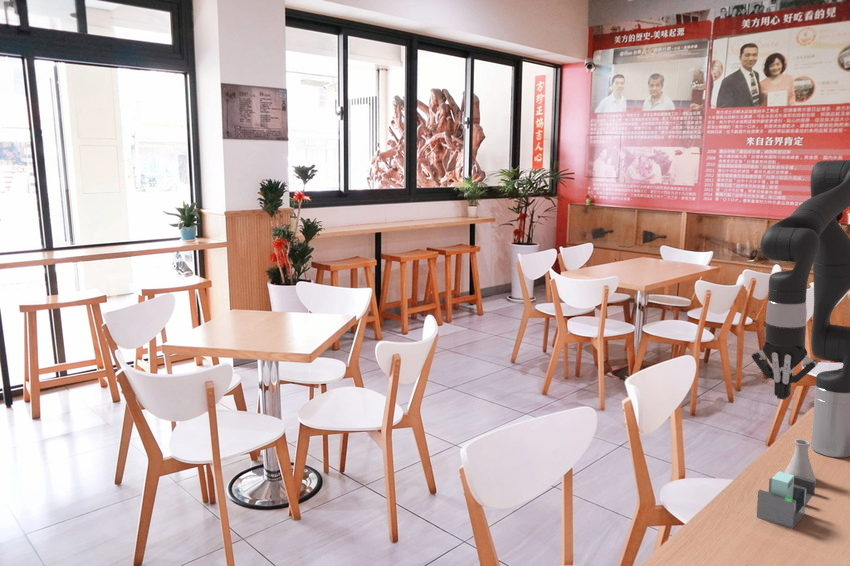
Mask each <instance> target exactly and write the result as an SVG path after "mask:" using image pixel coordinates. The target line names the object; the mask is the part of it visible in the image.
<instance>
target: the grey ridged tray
mask: <svg viewBox="0 0 850 566" xmlns="http://www.w3.org/2000/svg"><path fill="white" fill-rule="evenodd" d="M791 475H792V474H791ZM794 485H798V486H801V487H805V488H806V502H805V506H806V505H807V504H808V502H809V501H810V500H811V499H812V497H813V496H814V494H815V490H816V487H815V486H816V485H815V481H814V480H810V479H807V478H803V477H800V476H796V475H794Z"/></svg>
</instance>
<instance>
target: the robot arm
mask: <svg viewBox="0 0 850 566" xmlns="http://www.w3.org/2000/svg"><path fill="white" fill-rule="evenodd" d="M809 184H810V198H808V199H806V200H805V201H803V202H802V203H800V205H798V206H797V207H796V208H795V210H794V211H793V212H792V214H790V216H788V217H785V218H783V219H781V220H779V221H777V222H776V223H774V224H773V225H771V226H770V227H768V228H767V229H766V230H765V231H764V233H763V235H762V237H761V239H760V244H759V245H760V251H761V254H762V255H763V256H764V257H765V258H766V259H768V260H771V261H778V262H780V261H781V262H789V263H790V262H792V263H793V262H794V266H793V268H792V269H791V270H783V271H776V272H774V273H773V272H772V273H771V274H770V276H769V280H768V295H767V297H768V298H767V299H768V300H767V305H766V309H765V310H766V311H765V312H766V313H765V333H764V334H765V336H764V343H763V345H762V349H761V350H757V351H754V353H753V354H751V358H752V360H753V361H754V363H755V365H757V367H758V368H759V369H760V371H761V372H762V374H763V375H764V376H765V378H766V379H771V380H772V381H773V382H774V391H773V392H774V396H776V397H777V399H779V400H783V401H784V400H785V401H786V400H787V399H788V398H789V397H790V396H791V391H792V384H797V383H798V382H799V381H801V379H803V378H804V377H805V376H807V375H808V374H809V373H810V372H812V370H813V369H815V368H816V367H817V365H818V363H819V362H818V360H816V359H812V358H811V357H810V356H809V355H808V351H807V349H806V335H807V334H806V333H807V318H808V317H807V316H808V315H807V314H808V312H807V309H808V308H807V287H808V281H809V278H810V277H809V276H810V273H811V270H812V273H813V275H812V276H813V311H812V312H813V314H812V326H811V327H812V328H811V340H810V341H811V342H810V346H811V347H810V348H811V352H812V355H813V356H814V357H815V358H817V359H820V360H825V361H830V362H836V363H840V364H842V367H841V368H838V369H834V370H833V369H832V370H831V369H830V370H826V371H821V372H819V373H818V374H816V376H815V387H814V402H813V415H812V427H811V443H810V448H811V449H812V450H813V451H814V452H816V453H817V454H821V455H824V456H827V457H832V458H847V457H848V458H850V326H846V325H840V324H839V325H837V324H832V323H831V320H830V319H831V315H832V312H833V311H834V309H835V307H836V306H837V305H838V303H839V302H840V301H841V300H842V298H844V297H845V295H846V294H847V293H848V292H849V291H850V237H849V235H848V233H846V231H845V230H844V229H843V227H842V226H841V225H840V223H839V221H838V219H837V218H836V217H837V216H838V215H840V214H841V213H843V212H844V211H845V210H847V209H848V208H849V207H850V159H839V160H837V159H836V160H835V159H834V160H831V159H830V160H820V161H819V160H818V161H817V162H816V163H815V164H814V166H813V167H812V170H811V173H810V183H809ZM767 359H768V361H769V362H768V361H767ZM802 361H803V362H802ZM801 362H802V367H803V368H802V369H800V370H799V371H798V372H797V373H796V374H794V371H795V368H796V367H797V366H798V365H799V364H800V363H801ZM769 363H770V364H771V365H772V366H771V365H770V364H769Z"/></svg>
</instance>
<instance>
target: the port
mask: <svg viewBox="0 0 850 566" xmlns="http://www.w3.org/2000/svg"><path fill="white" fill-rule="evenodd" d="M772 478H773V477H770V479H769V482H768V491H767V490H763V489H759V490H758V491H757V500H756V501H757V503H756V504H757V505H756V518H757V519H760V520H763V521H767V522H770V523H773V524H776V525H779V526H782V527H784V528H788V529H791V530H793V529H794V528H795V527H796V526H797V524H798V523H799V522H800V520H801V519H802V518H803V517H804V515H805V514H806V505H805V502H806V488H805V487H801V486H798V485H794V486H793V499H792V498H789V497H783V496H780V495H776V494H773V493H771V484H772Z"/></svg>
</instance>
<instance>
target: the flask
mask: <svg viewBox="0 0 850 566" xmlns="http://www.w3.org/2000/svg"><path fill="white" fill-rule="evenodd" d="M794 445H795V449H794V451H793V452H794V453H793V455H792V457H791V459H790V462H789V463H788V465H787V467H786V468H785V470H784V473H788V474H792V475H796V476H800V477H803V478H807V479H810V480H814V481H815V486H816V485H817V478H816V476H815V475H816V474H815V473H814V471H813V467H812V463H811V461H810V457H809V456H810V455H809V448H810V447H811V443H810V441H808V440H806V439H803V438H802V439H801V438H799V439H798V438H797V439H794Z"/></svg>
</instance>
